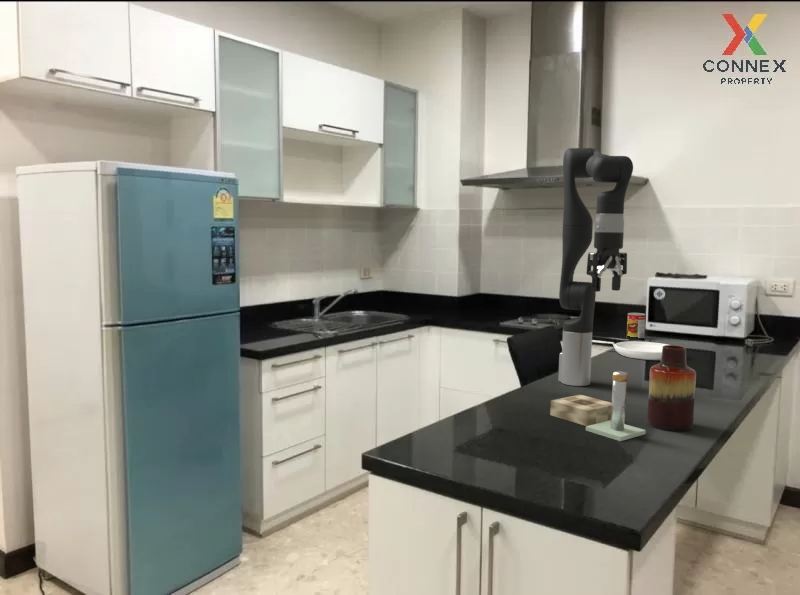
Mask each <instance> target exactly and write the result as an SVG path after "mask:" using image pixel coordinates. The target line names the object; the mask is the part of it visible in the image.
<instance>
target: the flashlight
mask: <svg viewBox="0 0 800 595" xmlns="http://www.w3.org/2000/svg"><path fill="white" fill-rule="evenodd" d="M627 382H628V372H627V371H621V370H616V371H613V372H612V386H611V387H612V390H611V403H612V406H611V426H610V428H611V429H612V430H616V431H623V430H624V424H625V420H626V404H627V403H626V402H627V401H626V400H627V385H628V383H627Z"/></svg>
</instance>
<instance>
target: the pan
mask: <svg viewBox="0 0 800 595" xmlns="http://www.w3.org/2000/svg"><path fill="white" fill-rule="evenodd" d="M592 343H599V344H612V345H613V346H612V347H613V349H615V352H617V353H618V354H619V355H621V356H623V357H626V358H629V359H636V360H645V361H661V356H662V348H663V346H665V345H669V344H667V343H661V342H660V343H659V342H653V341H638V340H629V341H620V342H616V343H615V342H614V341H607V340H606V341H605V340H595V339H592Z"/></svg>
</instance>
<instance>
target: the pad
mask: <svg viewBox="0 0 800 595" xmlns="http://www.w3.org/2000/svg"><path fill="white" fill-rule="evenodd" d="M610 426H611V420H609V421H605V422H601V423H597V424H593V425H589V426H585V431H586V432H590V433H593V434H595V435H600V436H603V437H605V438H609V439H612V440H616V441H618V442H623V441H626V440H630V439H633V438H636V437H642V436H644V435H646V429H643V428H641V427H635V426H633V425H628V424H625V423H624V430H623V431H616V430H612V429H611V428H610Z"/></svg>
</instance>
